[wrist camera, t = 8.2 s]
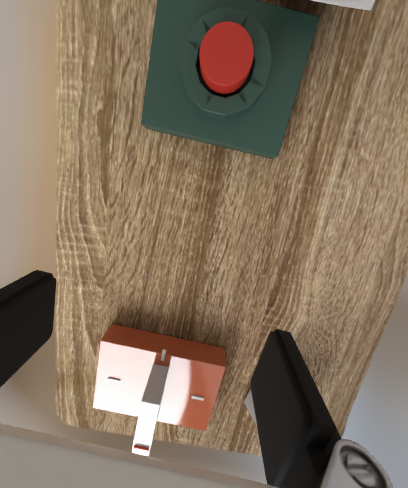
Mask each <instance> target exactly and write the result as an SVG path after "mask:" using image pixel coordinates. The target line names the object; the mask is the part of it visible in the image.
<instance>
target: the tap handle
mask: <svg viewBox="0 0 408 488" xmlns="http://www.w3.org/2000/svg"><path fill="white" fill-rule="evenodd" d="M168 370H169V367H167V366H162V365H158V364H153V366H152V369H151V372H150V375H149V378H148V382H147V385H146V388H145V391H144V394H143V397H142V401H141V405H140V411H139V416H138V421H137V426H136V431H135V436H134V441H133V447H132V453H135V454H140V455H144V456H149V453H150V448H151V445H152V440H153V436H154V431H155V427H156V423H157V418H158V414H159V409H160V405H161V401H162V396H163V392H164V387H165V383H166V379H167V374H168Z"/></svg>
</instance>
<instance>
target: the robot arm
mask: <svg viewBox="0 0 408 488" xmlns="http://www.w3.org/2000/svg"><path fill="white" fill-rule="evenodd" d="M55 292H56V279H55V278H53V275H52V274H51V273H47V272H44V271H39V270H36V271H33V272H31V273H29V274H28V275H26V276H24V277H22V278H20V279H19V280H17V281H15V282H13V283H11V284H9V285H7V286H5V287H3V288H1V289H0V387H1V386H2V385H3V384H4V383H5V382H6V381H7V380H8V379H9V378H10V377H11V376H12V375H13V374H14V373H15V372H16V371H17V370H18V369H19V368H20V367H21V366H22V365H23V364H24V363H25V362H26V361H27V360H28V359H29V358H30V357H31V356H32V355H33V354H34V353H35V352H36V351H37V350H38V349H39V348H40V347H41V346H42V345H43V344H44V343H45V342H46V341H47V340H48V339H49V338H50V336H51V334H52V331H53V319H54V305H55ZM251 393H252V399H253V404H254V410H255V416H256V422H257V428H258V434H259V440H260V445H261V451H262V457H263V463H264V468H265V474H266V480H267V484H268V485H266V484H262V483H258V482H254V481H251V480H247V479H243V478H239V477H235V476H231V475H226V474H222V473H217V472H213V471H209V470H205V469H200V468H196V467H191V466H187V465H183V464H179V463H174V462H170V461H165V460H161V459H157V458H153V457H148V456H144V455H140V454H135V453H130V452H126V451H122V450H117V449H113V448H109V447H103V446H99V445H95V444H91V443H86V442H82V441H77V440H73V439H68V438H64V437H59V436H55V435H50V434H46V433H41V432H36V431H32V430H27V429H23V428H18V427H13V426H9V425H4V424H0V488H393V486H392V483H391V481H390V478H389V476H388V474H387V473H386V471H385V470H384V468H383V467H382V465H381V464H380V463H379V462H378V461H377V459H376V458H375V457H374V456H373V455H372V454H371V453H370V452H369V451H367V450H366V449H365V448H364V447H362V446H361V445H359V444H358V443H356V442H353V441H351V440H347V439H341V437H340V435H339V433H338V431H337V428H336V426H335V424H334V422H333V420H332V418H331V416H330V414H329V411H328V409H327V407H326V405H325V403H324V401H323V399H322V397H321V395H320V393H319V391H318V389H317V387H316V385H315V382H314V380H313V378H312V376H311V374H310V372H309V370H308V368H307V366H306V364H305V362H304V360H303V358H302V356H301V353H300V351H299V349H298V347H297V345H296V343H295V341H294V339H293V337H292V335H291V333H290V332H287V331H283V330H279V329H276V330H275V331H274V332H273V331H271V332H270V334H269V336H268V339H267V341H266V344H265V346H264V349H263V351H262V354H261V356H260V359H259V361H258V364H257V366H256V369H255V371H254V374H253V376H252V379H251Z"/></svg>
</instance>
